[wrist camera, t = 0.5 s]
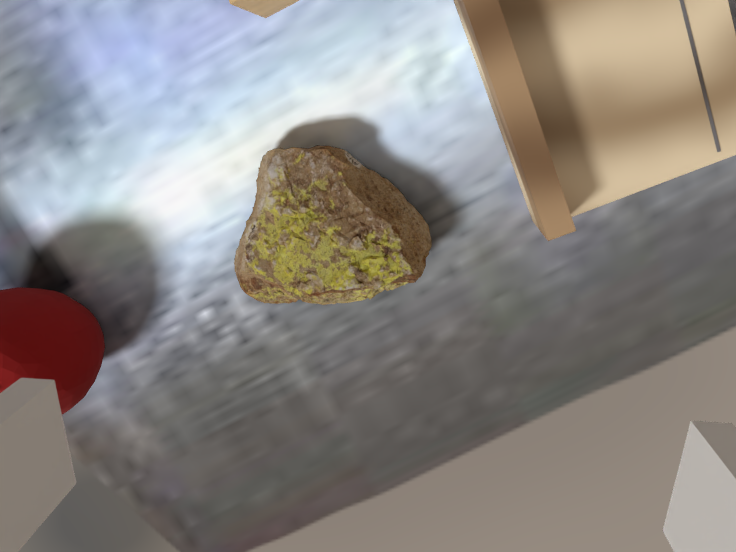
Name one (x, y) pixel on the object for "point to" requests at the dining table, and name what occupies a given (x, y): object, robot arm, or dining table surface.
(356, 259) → the rock
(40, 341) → the apple
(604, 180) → the board
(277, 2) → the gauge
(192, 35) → the dining table surface
